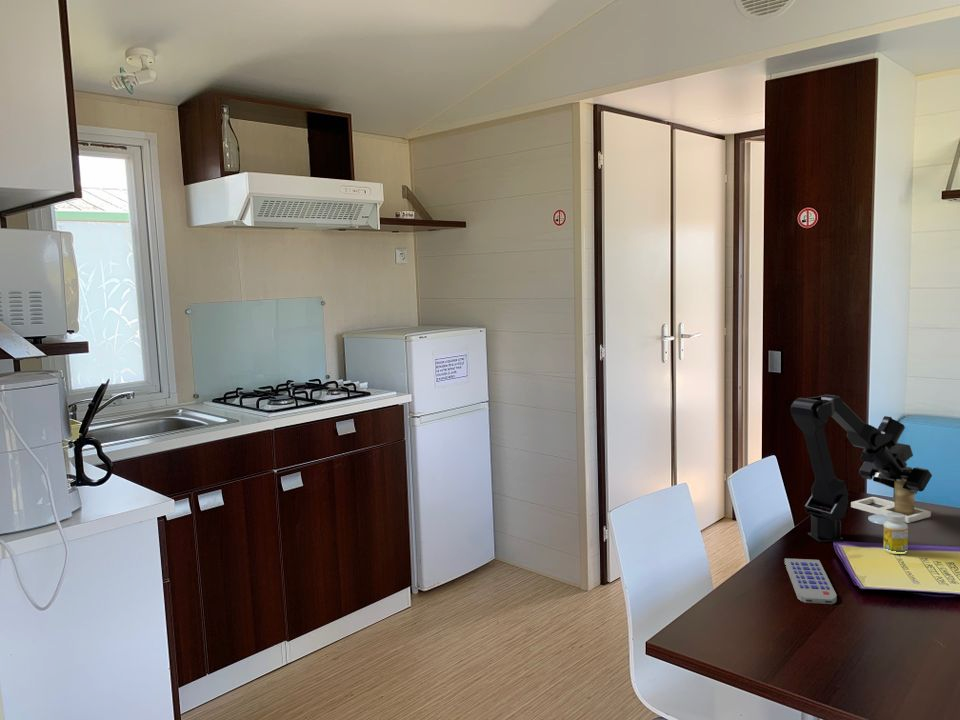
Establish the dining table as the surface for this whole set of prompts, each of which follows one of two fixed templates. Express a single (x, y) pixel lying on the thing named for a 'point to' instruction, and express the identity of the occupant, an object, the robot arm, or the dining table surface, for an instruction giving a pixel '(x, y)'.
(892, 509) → the holder
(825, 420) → the robot arm
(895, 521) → the supplement bottle
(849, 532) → the dining table surface
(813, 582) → the remote control
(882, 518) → the coaster
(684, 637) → the dining table surface
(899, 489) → the plug
